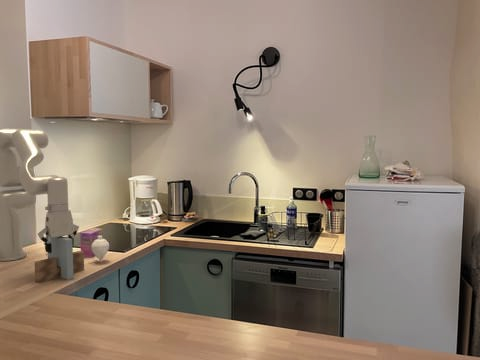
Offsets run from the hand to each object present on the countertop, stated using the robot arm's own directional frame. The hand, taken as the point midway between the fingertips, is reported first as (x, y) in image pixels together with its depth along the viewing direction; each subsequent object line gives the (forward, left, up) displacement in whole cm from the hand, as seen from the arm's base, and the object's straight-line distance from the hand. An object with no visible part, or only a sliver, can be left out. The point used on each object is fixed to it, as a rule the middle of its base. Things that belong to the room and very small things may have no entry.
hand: (59, 249), depth 171 cm
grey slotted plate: (0, 0, -11) cm, 11 cm away
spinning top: (+13, +17, -11) cm, 24 cm away
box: (+7, +30, -11) cm, 33 cm away
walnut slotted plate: (0, 0, -11) cm, 11 cm away
